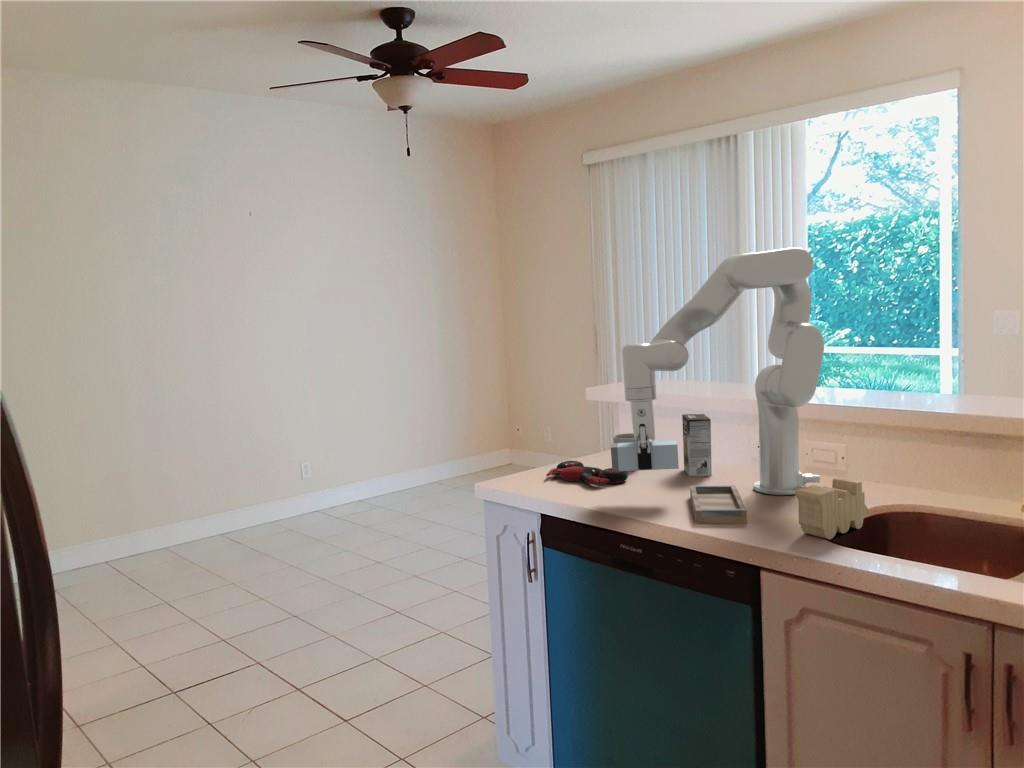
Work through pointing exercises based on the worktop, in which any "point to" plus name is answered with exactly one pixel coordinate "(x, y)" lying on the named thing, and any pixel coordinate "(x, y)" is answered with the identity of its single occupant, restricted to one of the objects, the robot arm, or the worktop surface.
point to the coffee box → (697, 444)
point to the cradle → (717, 505)
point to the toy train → (831, 508)
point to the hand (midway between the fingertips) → (645, 465)
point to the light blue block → (661, 451)
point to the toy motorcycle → (587, 473)
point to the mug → (624, 438)
